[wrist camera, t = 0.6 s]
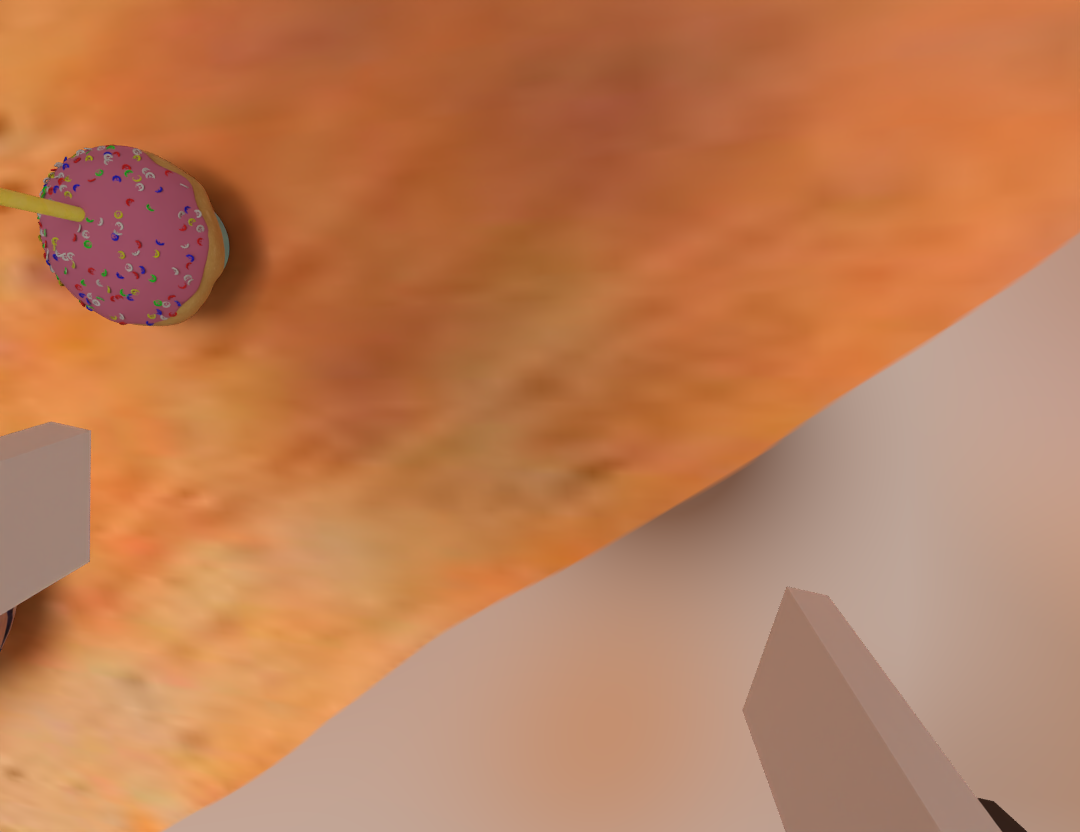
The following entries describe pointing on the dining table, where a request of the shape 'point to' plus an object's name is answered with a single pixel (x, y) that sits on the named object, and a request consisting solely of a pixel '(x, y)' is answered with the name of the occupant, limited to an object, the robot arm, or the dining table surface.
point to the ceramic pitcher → (6, 625)
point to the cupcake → (128, 234)
